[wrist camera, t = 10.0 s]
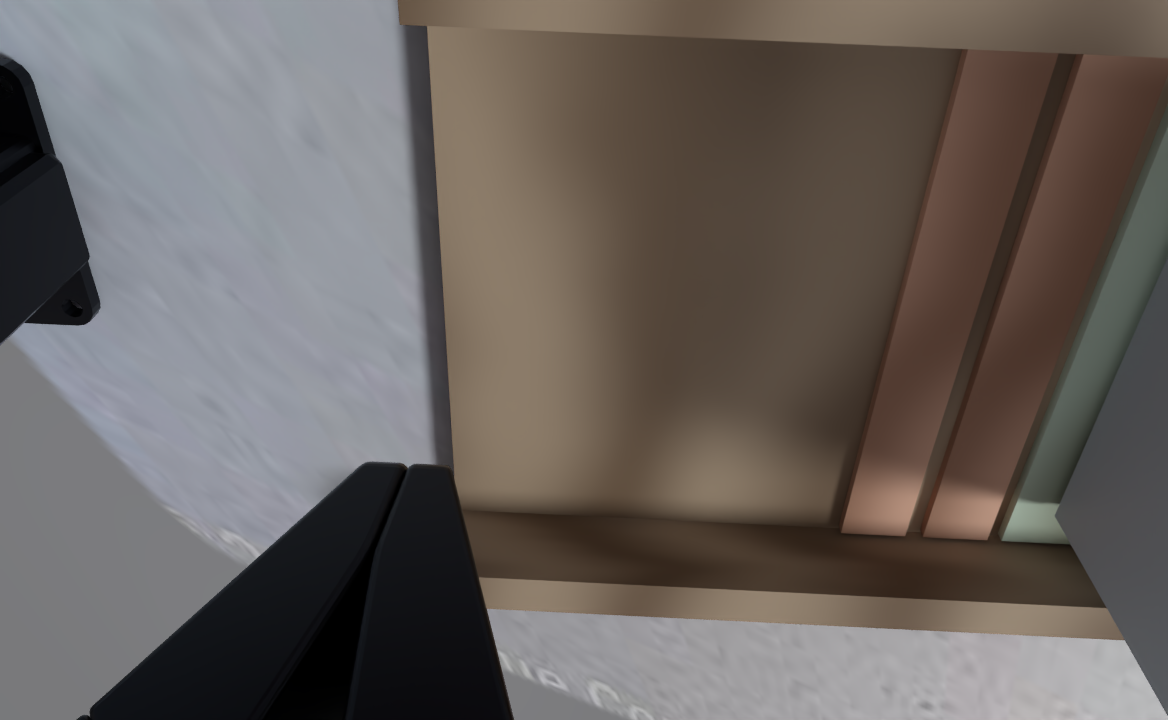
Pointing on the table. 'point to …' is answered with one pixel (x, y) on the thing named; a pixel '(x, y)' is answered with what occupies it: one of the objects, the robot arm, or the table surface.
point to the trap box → (791, 298)
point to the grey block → (1130, 496)
